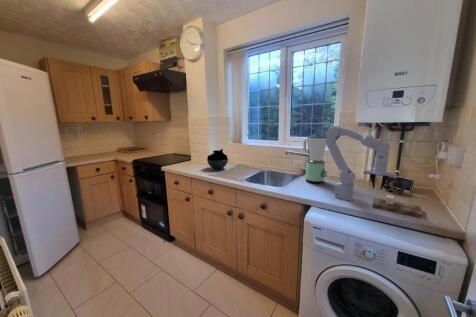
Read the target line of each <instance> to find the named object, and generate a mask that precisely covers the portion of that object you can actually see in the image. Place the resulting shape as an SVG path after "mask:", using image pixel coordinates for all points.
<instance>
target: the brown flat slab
mask: <svg viewBox="0 0 476 317" xmlns="http://www.w3.org/2000/svg"><path fill="white" fill-rule="evenodd" d="M371 208H374V209H377V210H378V209H379V210H383V211H387V212H392V213H395V214H401V215H406V216H410V217H413V218H418V219H423V216H424V213H423V210H422V207H421V206H419V205H414V204H410V203H405V202H400V201H399V202H398V201H394V200H393V205H391V204H386V199H384V198H379V197H378V198H377V197H373V200H372V207H371Z"/></svg>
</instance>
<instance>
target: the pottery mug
mask: <svg viewBox="0 0 476 317" xmlns="http://www.w3.org/2000/svg"><path fill="white" fill-rule="evenodd" d="M396 185H397V186H398V185H399V187H402V188H398V187H396ZM383 188H384V189H385V190H386V191H389V190H392V191H391V194H393V195H396V194H401V193H404V192H405V188H406V187H405V185H404V184H403V183H402V182H400V181H398V180H397V181H395V180H393V181H391V182H388V181H386V182H385V184H384V186H383Z"/></svg>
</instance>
